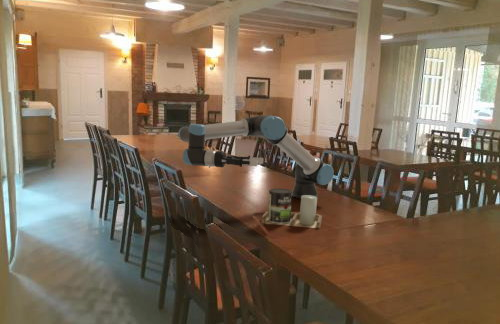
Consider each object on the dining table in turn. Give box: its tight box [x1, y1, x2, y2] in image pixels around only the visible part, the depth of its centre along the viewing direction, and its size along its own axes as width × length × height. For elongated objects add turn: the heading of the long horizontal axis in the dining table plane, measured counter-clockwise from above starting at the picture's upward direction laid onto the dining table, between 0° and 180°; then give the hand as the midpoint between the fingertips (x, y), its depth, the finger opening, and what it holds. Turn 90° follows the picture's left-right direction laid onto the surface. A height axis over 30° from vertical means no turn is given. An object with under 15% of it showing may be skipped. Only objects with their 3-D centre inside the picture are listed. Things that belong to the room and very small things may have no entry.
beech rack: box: [260, 209, 323, 229], centre depth 180 cm, size 26×13×4 cm, turn 76°
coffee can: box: [268, 188, 293, 225], centre depth 180 cm, size 10×10×14 cm
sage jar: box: [299, 195, 318, 225], centre depth 177 cm, size 7×7×12 cm
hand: (260, 162), depth 180 cm, fingers open, 13 cm apart
